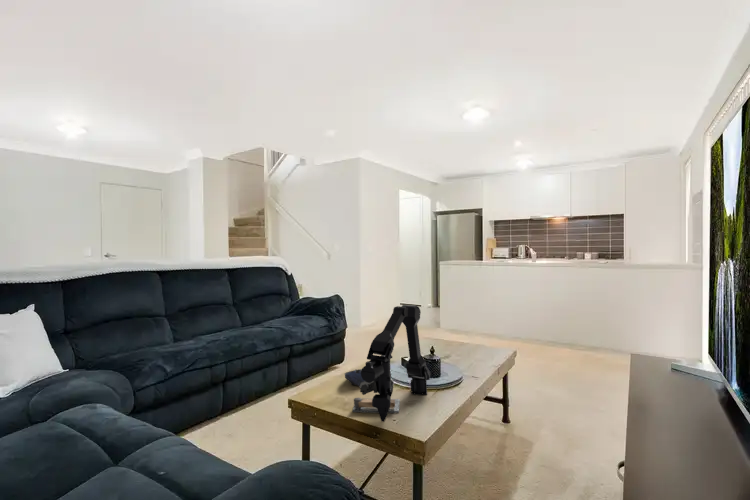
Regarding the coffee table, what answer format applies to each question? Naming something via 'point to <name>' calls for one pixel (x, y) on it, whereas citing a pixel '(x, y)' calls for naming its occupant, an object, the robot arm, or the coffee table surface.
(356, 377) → the rock
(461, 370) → the coffee table surface
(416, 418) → the coffee table surface
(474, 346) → the coffee table surface
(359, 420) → the coffee table surface
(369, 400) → the bar
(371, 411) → the chassis lid
